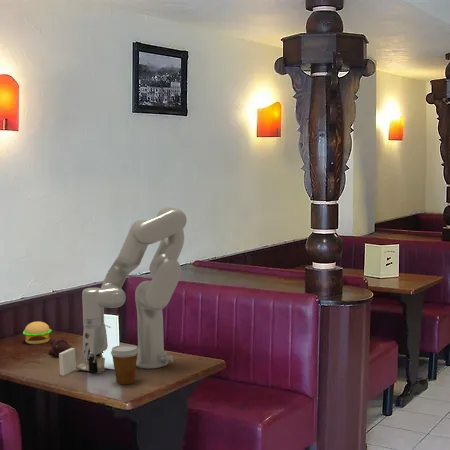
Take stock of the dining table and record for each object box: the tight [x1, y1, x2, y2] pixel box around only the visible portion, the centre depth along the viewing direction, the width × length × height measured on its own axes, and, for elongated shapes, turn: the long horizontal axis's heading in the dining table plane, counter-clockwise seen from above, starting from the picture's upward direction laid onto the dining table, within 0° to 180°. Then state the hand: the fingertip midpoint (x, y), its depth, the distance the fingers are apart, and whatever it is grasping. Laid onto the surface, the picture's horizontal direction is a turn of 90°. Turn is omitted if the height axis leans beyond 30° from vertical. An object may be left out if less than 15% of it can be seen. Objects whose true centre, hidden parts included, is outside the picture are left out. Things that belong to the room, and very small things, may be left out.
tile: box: [58, 347, 77, 377], centre depth 261 cm, size 2×8×8 cm, turn 159°
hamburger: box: [22, 320, 53, 345], centre depth 307 cm, size 12×12×9 cm
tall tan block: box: [75, 356, 106, 374], centre depth 261 cm, size 10×4×5 cm, turn 69°
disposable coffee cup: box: [110, 344, 138, 385], centre depth 248 cm, size 10×10×12 cm
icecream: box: [48, 339, 72, 357], centre depth 282 cm, size 7×7×15 cm
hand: (95, 370), depth 261 cm, fingers closed on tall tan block, 2 cm apart
